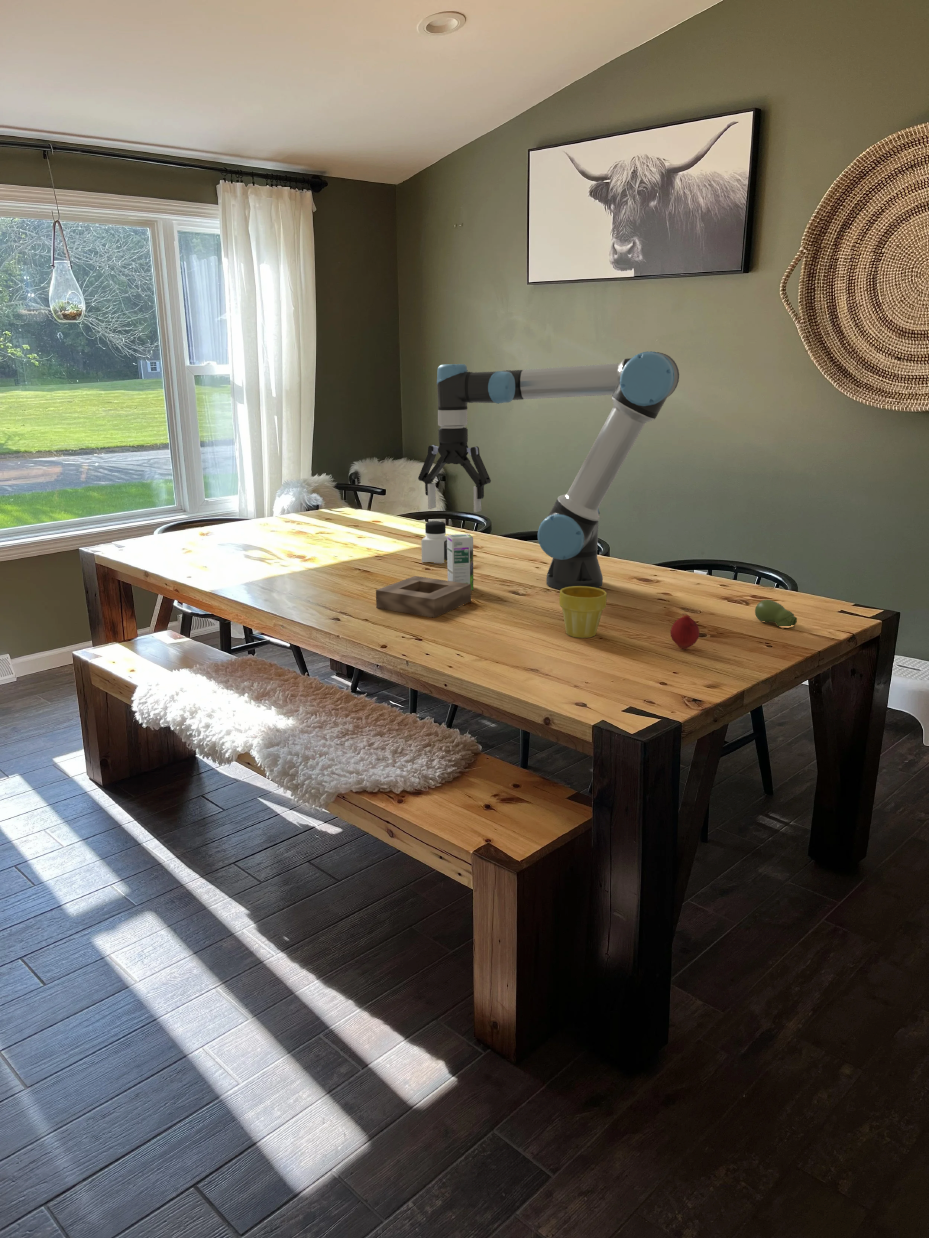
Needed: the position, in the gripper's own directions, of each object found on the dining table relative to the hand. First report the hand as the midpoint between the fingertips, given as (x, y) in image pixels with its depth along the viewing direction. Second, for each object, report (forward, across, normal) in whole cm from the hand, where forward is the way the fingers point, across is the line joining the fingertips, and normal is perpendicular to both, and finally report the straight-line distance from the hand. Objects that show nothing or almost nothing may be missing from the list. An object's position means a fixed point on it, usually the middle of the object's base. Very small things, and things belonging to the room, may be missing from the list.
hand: (454, 509), depth 233 cm
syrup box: (+21, -2, +1) cm, 21 cm away
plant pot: (+22, -45, +23) cm, 55 cm away
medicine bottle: (+21, +21, -25) cm, 39 cm away
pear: (+22, -82, -6) cm, 85 cm away
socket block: (+21, -2, +19) cm, 28 cm away
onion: (+22, -68, +23) cm, 75 cm away
